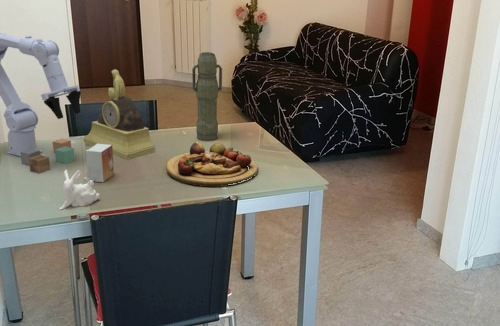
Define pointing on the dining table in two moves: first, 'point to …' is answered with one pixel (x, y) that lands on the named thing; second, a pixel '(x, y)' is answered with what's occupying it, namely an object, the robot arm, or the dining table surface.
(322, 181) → the dining table surface
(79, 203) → the rabbit figurine
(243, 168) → the wooden plate with food
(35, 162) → the walnut block
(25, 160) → the charcoal block
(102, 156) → the small box
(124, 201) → the dining table surface
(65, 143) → the terracotta block
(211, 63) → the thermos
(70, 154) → the green block
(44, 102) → the robot arm
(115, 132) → the decorative clock
